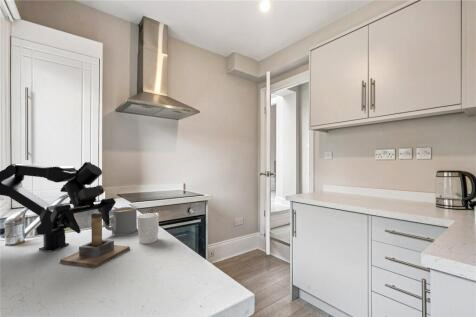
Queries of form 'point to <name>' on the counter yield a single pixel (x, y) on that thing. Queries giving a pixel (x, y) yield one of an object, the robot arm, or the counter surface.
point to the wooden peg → (96, 229)
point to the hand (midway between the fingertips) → (94, 228)
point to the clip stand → (95, 254)
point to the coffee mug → (123, 221)
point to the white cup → (148, 227)
